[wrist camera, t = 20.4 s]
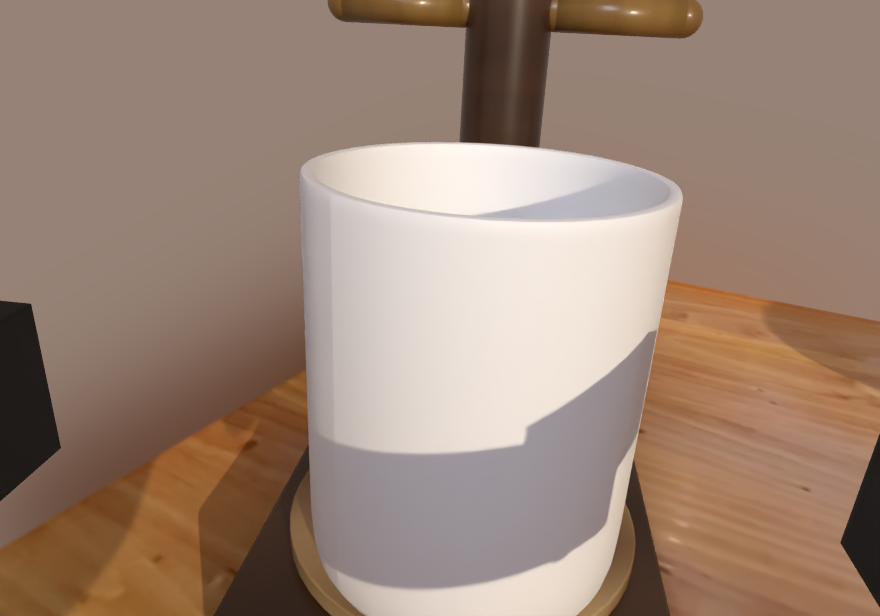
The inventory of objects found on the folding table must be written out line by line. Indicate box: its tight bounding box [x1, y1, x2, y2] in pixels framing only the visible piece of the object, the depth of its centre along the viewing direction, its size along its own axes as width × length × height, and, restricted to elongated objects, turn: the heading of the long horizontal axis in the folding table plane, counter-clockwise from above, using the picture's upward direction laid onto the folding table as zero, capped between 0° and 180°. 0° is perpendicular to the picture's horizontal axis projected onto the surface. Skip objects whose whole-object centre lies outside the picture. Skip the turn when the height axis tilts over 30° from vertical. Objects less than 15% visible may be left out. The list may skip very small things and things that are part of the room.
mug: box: [299, 142, 683, 616], centre depth 19 cm, size 9×12×11 cm
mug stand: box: [214, 0, 703, 616], centre depth 19 cm, size 14×12×24 cm
